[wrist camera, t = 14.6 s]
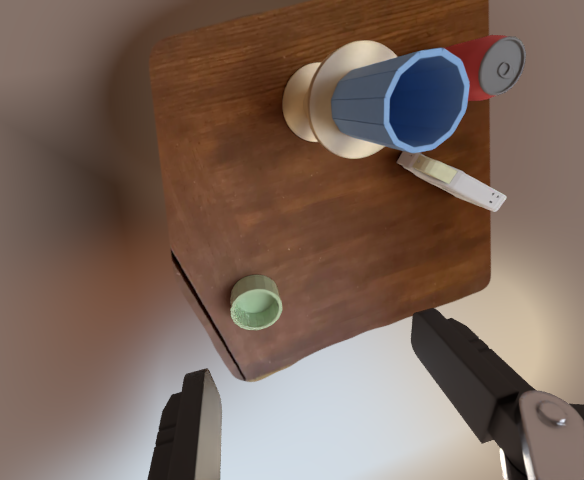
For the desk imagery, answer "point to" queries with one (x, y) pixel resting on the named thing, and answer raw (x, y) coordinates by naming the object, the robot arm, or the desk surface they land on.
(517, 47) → the beer can
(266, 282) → the green cup
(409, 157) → the handheld gaming console
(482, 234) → the desk surface
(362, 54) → the stand
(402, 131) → the blue cup
